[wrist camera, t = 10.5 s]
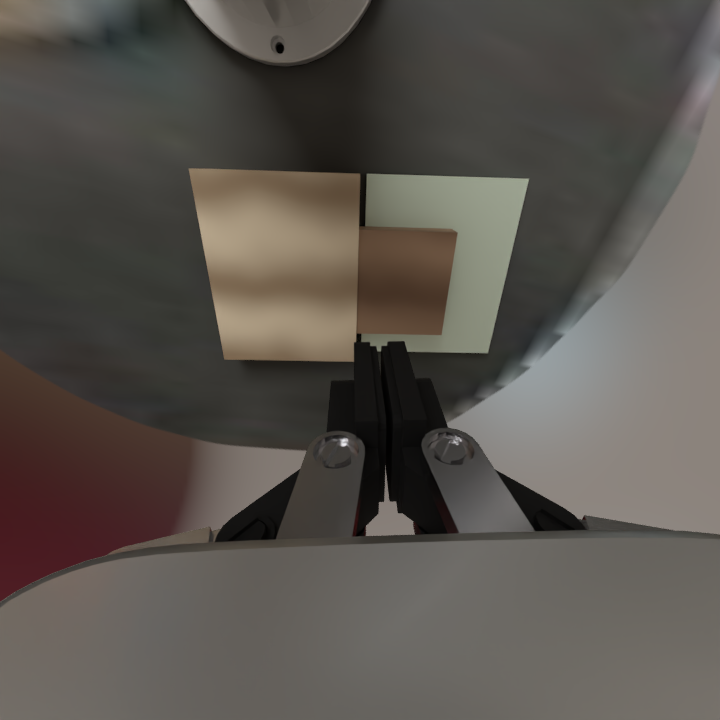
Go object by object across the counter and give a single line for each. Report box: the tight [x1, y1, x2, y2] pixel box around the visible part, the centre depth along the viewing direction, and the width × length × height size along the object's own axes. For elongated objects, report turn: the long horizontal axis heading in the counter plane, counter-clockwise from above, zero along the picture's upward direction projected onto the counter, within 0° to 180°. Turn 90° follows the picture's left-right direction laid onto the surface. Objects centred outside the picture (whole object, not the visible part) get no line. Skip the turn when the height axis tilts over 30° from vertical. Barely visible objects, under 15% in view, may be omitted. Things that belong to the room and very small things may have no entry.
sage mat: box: [361, 174, 529, 353], centre depth 28 cm, size 14×12×1 cm
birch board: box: [189, 169, 360, 362], centre depth 27 cm, size 14×11×2 cm
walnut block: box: [356, 226, 458, 335], centre depth 27 cm, size 8×7×2 cm
